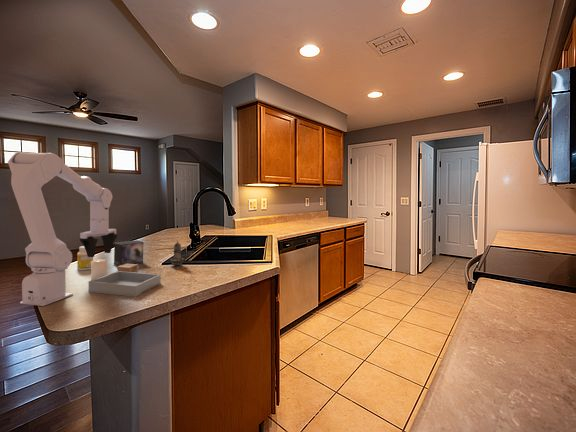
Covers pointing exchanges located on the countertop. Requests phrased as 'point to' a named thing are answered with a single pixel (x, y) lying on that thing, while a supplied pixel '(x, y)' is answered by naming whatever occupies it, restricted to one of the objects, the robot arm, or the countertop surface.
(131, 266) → the walnut cube
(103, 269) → the beige round piece
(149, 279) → the tote
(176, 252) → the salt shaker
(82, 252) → the supplement bottle
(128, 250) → the small box
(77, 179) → the robot arm
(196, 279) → the countertop surface
